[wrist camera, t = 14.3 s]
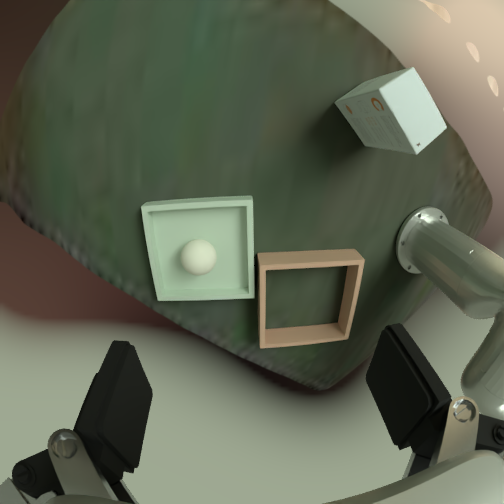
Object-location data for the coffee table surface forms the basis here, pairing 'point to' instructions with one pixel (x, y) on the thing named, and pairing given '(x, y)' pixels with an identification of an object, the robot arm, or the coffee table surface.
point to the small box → (393, 112)
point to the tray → (207, 228)
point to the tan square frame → (310, 260)
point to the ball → (198, 257)
